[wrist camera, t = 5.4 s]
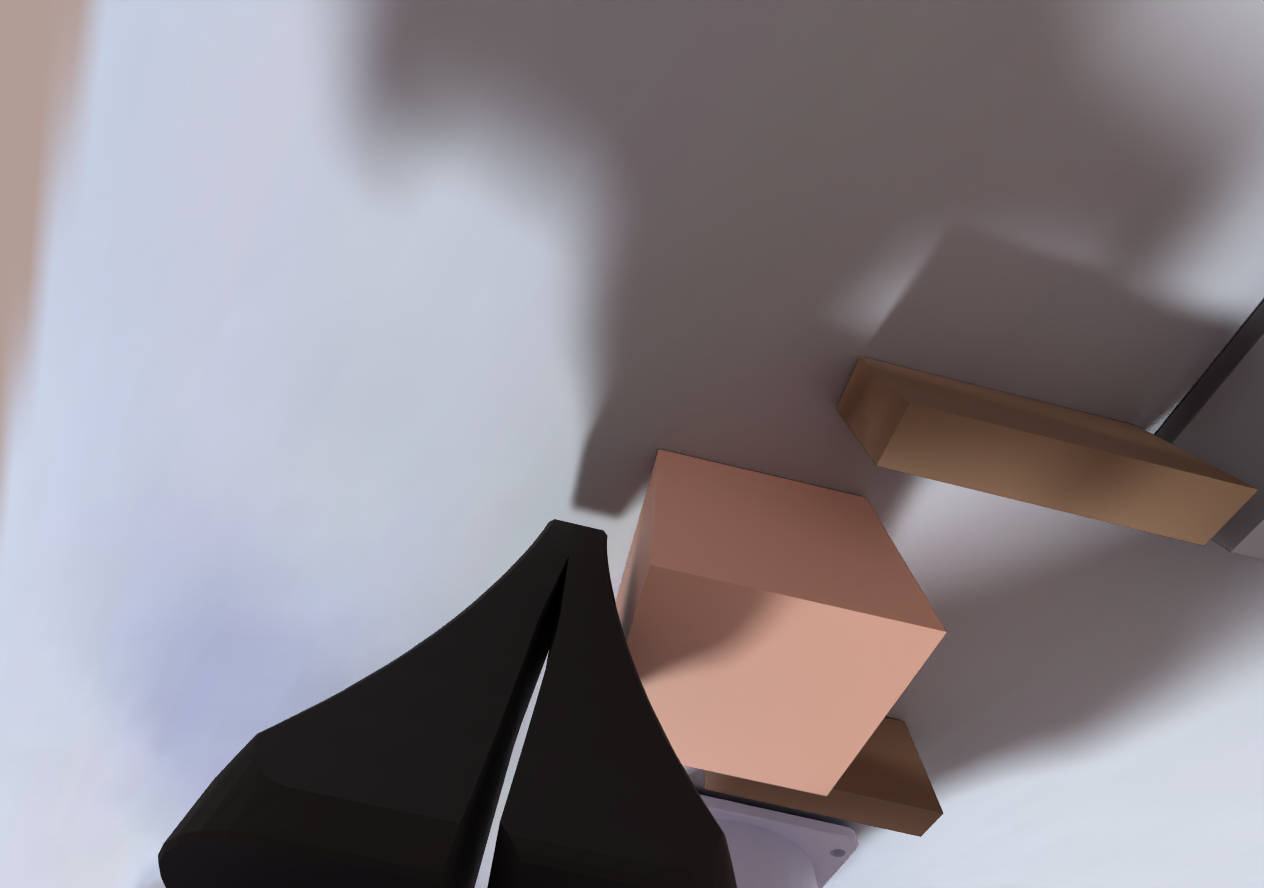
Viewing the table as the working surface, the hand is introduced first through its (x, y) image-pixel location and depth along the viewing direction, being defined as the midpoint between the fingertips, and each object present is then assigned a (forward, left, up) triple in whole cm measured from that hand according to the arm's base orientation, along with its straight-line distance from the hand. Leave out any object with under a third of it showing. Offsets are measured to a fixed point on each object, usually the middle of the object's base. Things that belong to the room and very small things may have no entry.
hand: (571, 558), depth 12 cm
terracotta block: (0, -4, -1) cm, 4 cm away
